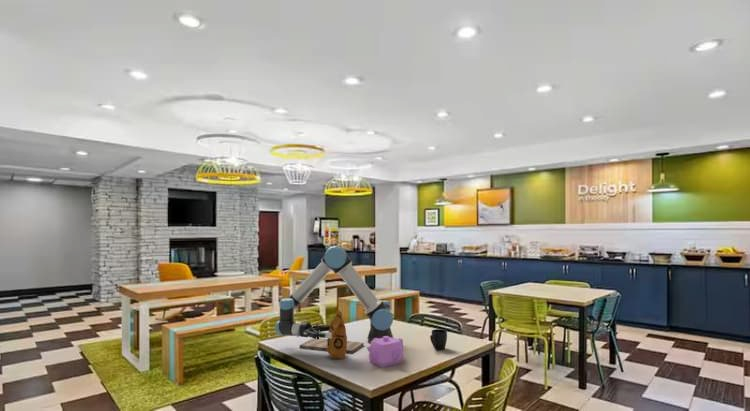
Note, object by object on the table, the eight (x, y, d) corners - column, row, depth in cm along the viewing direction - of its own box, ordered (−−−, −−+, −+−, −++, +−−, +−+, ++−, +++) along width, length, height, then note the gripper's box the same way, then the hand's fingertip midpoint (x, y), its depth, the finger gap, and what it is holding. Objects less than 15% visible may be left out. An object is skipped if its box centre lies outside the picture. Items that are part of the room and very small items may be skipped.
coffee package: (327, 359, 203) (331, 315, 203) (325, 349, 215) (329, 308, 215) (346, 359, 204) (350, 316, 204) (344, 350, 217) (348, 309, 217)
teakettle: (403, 356, 208) (403, 332, 208) (403, 368, 191) (402, 341, 191) (370, 356, 209) (370, 332, 210) (367, 367, 192) (366, 341, 193)
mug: (424, 350, 218) (424, 332, 218) (437, 345, 226) (437, 328, 227) (437, 353, 212) (436, 335, 213) (450, 348, 221) (449, 330, 221)
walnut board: (363, 345, 229) (363, 342, 229) (351, 353, 214) (351, 350, 214) (314, 340, 240) (314, 337, 240) (299, 347, 226) (299, 345, 226)
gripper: (313, 330, 229) (347, 333, 221) (289, 342, 206) (326, 346, 198) (313, 317, 230) (347, 319, 222) (289, 327, 206) (326, 330, 199)
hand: (337, 332), depth 210 cm, fingers closed on coffee package, 13 cm apart
